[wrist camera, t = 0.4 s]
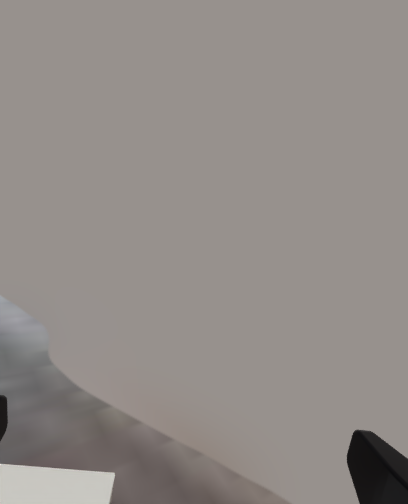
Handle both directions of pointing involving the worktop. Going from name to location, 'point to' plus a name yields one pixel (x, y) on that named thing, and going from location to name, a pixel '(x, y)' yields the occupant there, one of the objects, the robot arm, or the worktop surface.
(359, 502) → the robot arm
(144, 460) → the worktop surface
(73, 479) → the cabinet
